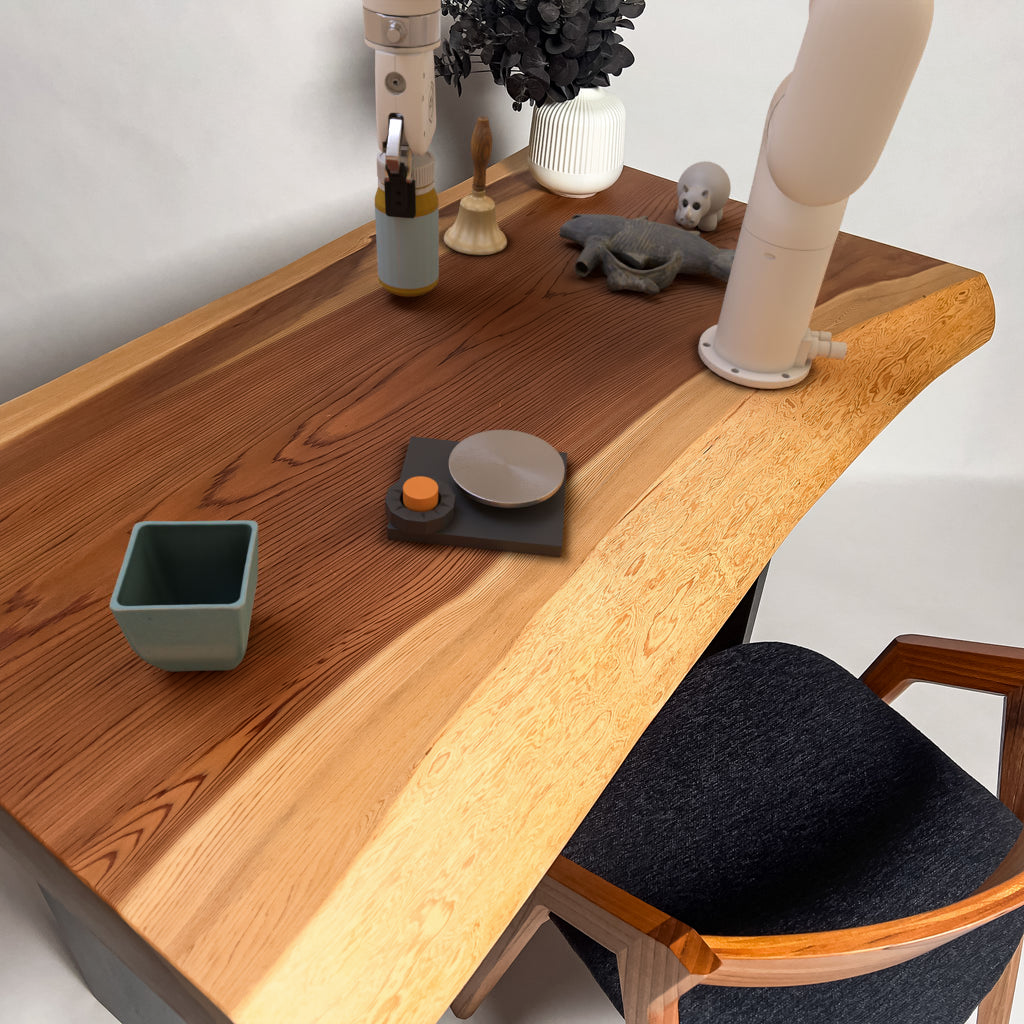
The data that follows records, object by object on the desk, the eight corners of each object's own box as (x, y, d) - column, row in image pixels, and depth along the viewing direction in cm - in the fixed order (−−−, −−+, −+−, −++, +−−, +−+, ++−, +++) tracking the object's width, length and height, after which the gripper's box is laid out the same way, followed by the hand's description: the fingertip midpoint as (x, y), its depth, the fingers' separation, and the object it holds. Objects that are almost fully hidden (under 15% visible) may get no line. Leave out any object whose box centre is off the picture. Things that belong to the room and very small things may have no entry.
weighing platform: (566, 440, 90) (566, 435, 90) (561, 514, 82) (562, 508, 82) (455, 429, 90) (456, 424, 90) (441, 501, 82) (441, 496, 82)
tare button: (440, 491, 84) (440, 478, 83) (435, 514, 82) (435, 500, 81) (406, 488, 84) (406, 474, 83) (400, 510, 82) (400, 497, 81)
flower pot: (156, 603, 76) (134, 519, 70) (270, 602, 77) (259, 518, 71) (132, 693, 69) (106, 609, 63) (258, 691, 70) (244, 607, 64)
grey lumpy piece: (580, 189, 127) (531, 244, 118) (763, 234, 120) (726, 297, 111) (579, 223, 131) (531, 279, 122) (756, 269, 124) (719, 332, 114)
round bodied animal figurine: (653, 239, 130) (664, 178, 124) (679, 207, 138) (691, 148, 132) (704, 253, 128) (717, 191, 122) (728, 220, 136) (742, 160, 130)
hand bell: (515, 234, 128) (525, 112, 117) (494, 261, 122) (502, 135, 111) (457, 221, 129) (461, 100, 119) (433, 247, 123) (436, 121, 113)
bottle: (442, 272, 115) (442, 147, 105) (433, 301, 110) (432, 172, 100) (385, 267, 115) (379, 142, 105) (373, 295, 110) (366, 166, 100)
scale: (565, 463, 92) (569, 439, 90) (560, 561, 82) (563, 536, 80) (406, 447, 92) (406, 422, 90) (381, 542, 82) (380, 517, 80)
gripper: (427, 56, 87) (429, 239, 99) (451, 6, 100) (450, 172, 112) (346, 50, 88) (357, 233, 99) (380, 0, 101) (386, 167, 112)
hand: (406, 200), depth 106 cm, fingers closed on bottle, 7 cm apart
